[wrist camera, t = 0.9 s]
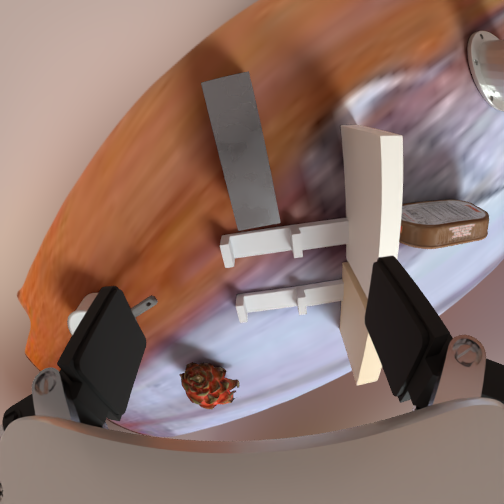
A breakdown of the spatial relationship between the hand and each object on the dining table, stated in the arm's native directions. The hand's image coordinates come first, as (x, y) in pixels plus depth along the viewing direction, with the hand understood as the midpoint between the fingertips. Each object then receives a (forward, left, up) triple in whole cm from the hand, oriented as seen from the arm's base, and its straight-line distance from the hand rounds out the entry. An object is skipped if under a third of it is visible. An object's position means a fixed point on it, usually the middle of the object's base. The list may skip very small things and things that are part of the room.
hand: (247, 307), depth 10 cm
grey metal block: (0, -3, -22) cm, 22 cm away
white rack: (-4, +11, -22) cm, 25 cm away
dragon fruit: (+13, +33, -22) cm, 42 cm away
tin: (-22, +7, -22) cm, 32 cm away
